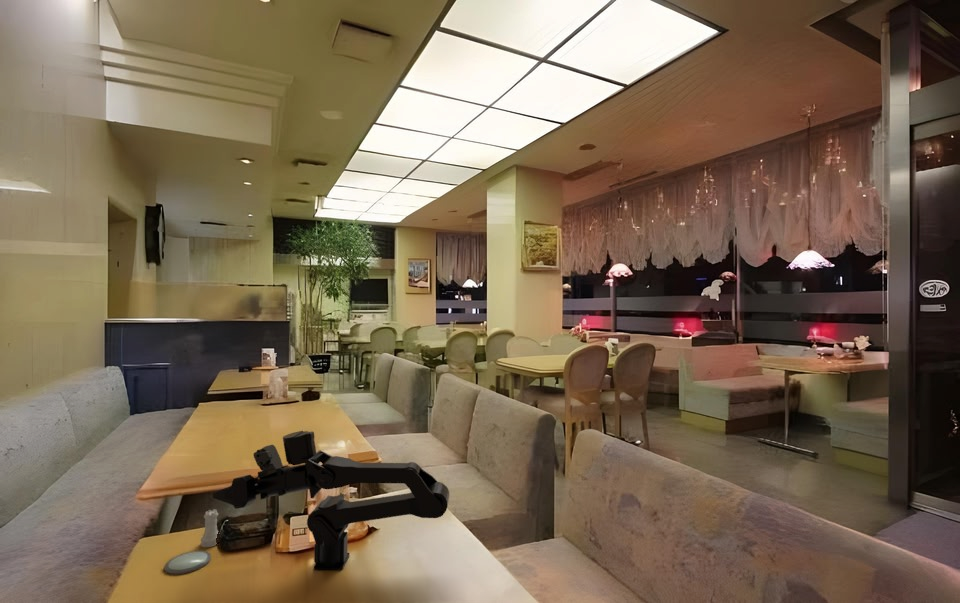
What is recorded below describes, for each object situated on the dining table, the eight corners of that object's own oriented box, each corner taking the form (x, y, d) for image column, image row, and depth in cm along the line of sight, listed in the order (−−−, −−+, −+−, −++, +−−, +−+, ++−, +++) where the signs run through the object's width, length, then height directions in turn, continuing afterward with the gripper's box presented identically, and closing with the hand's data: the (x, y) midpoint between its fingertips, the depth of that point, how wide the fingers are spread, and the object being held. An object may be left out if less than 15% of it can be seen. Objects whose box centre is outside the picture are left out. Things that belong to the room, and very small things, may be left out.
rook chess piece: (211, 549, 111) (211, 516, 112) (195, 547, 112) (196, 514, 113) (225, 540, 116) (225, 508, 116) (209, 538, 117) (210, 507, 117)
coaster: (218, 553, 110) (218, 550, 110) (196, 574, 101) (196, 571, 101) (180, 553, 110) (181, 550, 110) (154, 574, 101) (154, 571, 101)
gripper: (304, 440, 117) (244, 450, 117) (268, 448, 99) (197, 461, 99) (308, 485, 115) (247, 496, 115) (272, 502, 96) (199, 515, 97)
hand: (225, 491), depth 106 cm, fingers open, 9 cm apart
